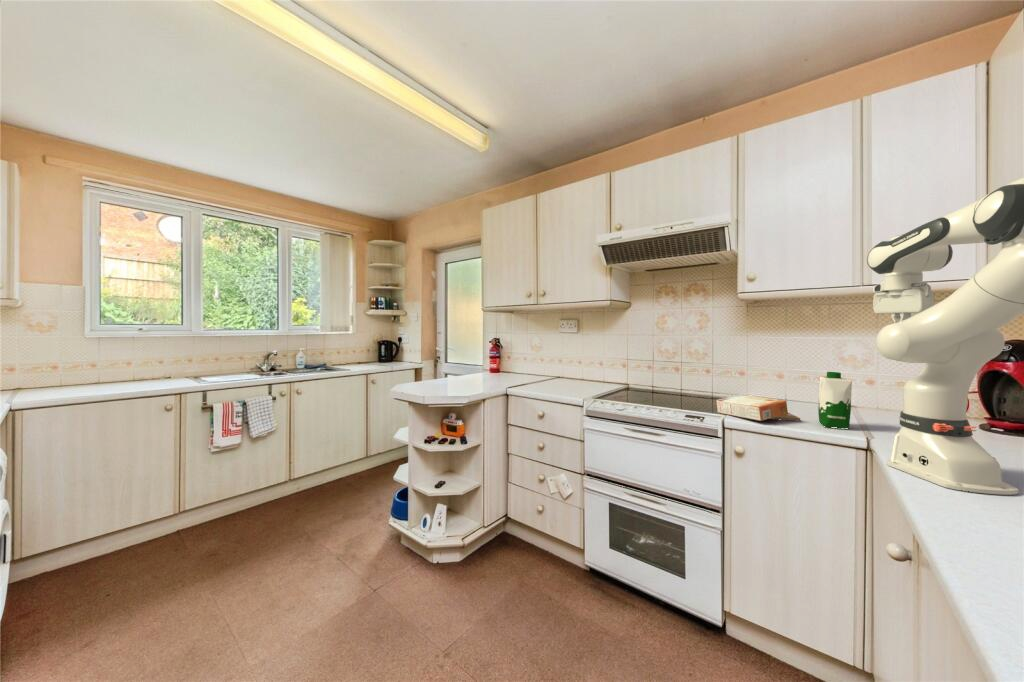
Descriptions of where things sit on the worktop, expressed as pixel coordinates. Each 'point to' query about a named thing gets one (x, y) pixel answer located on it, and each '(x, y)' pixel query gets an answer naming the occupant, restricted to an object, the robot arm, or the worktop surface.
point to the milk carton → (834, 400)
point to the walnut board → (787, 417)
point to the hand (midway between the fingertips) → (900, 327)
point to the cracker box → (752, 407)
